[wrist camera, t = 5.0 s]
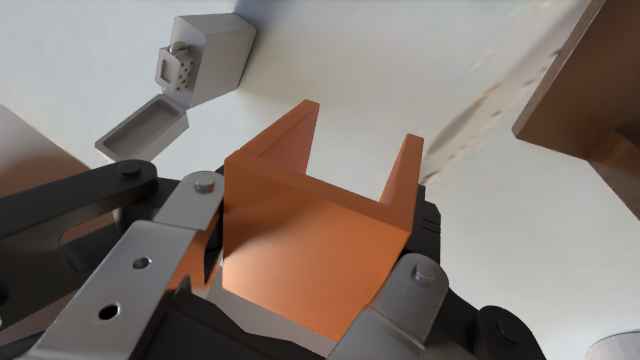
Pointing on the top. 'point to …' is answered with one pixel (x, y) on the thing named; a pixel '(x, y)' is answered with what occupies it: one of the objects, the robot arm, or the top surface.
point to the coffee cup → (616, 348)
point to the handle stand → (594, 98)
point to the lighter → (183, 83)
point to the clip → (310, 227)
